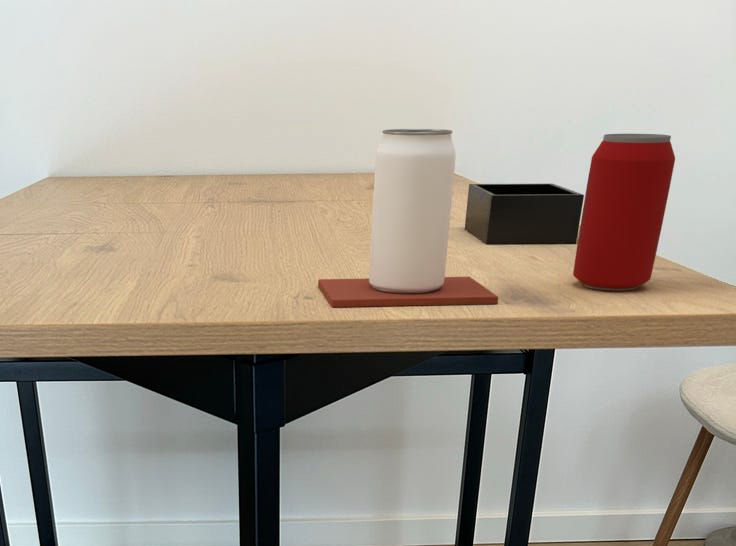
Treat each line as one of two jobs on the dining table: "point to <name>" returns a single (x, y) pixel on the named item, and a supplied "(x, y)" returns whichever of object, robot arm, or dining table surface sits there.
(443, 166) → the can
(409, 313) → the dining table surface
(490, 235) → the box
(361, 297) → the mat
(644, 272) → the beverage can
